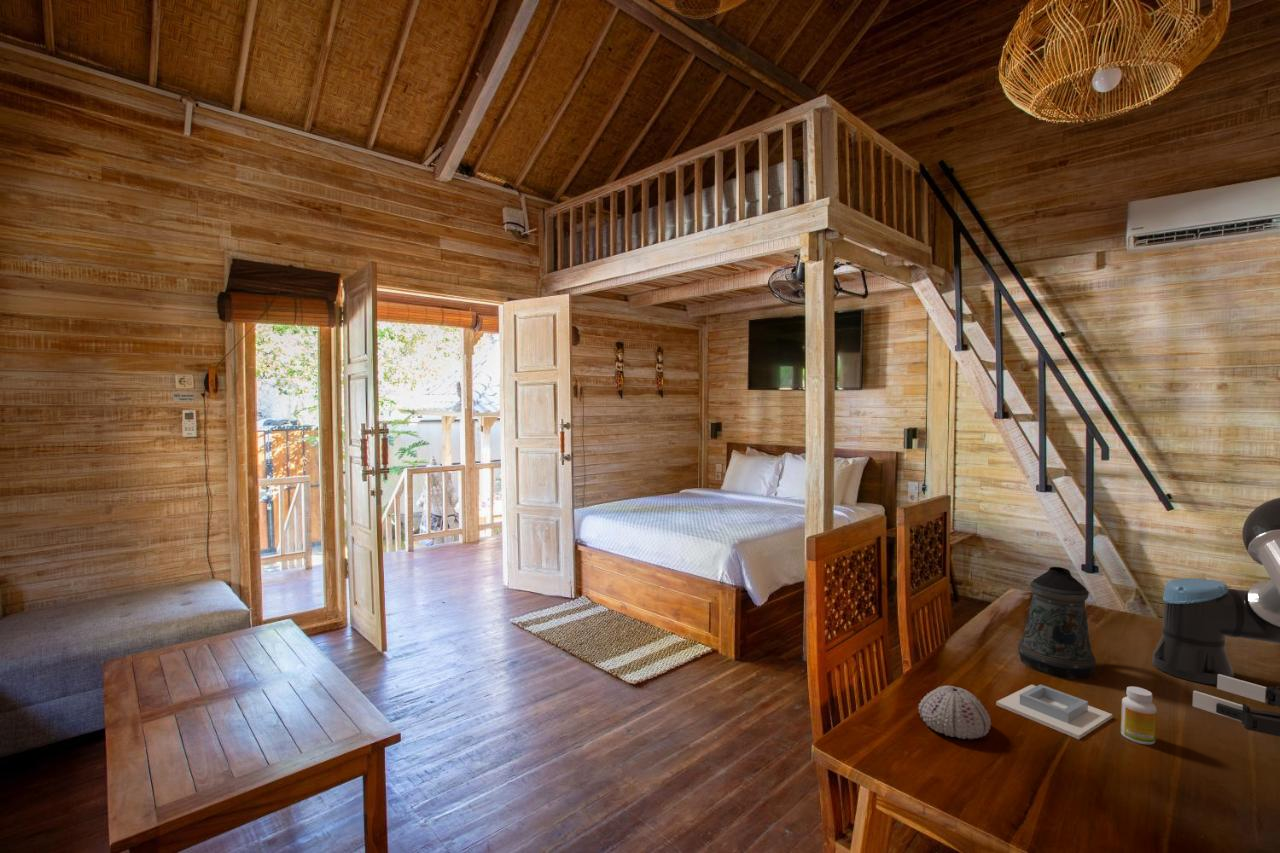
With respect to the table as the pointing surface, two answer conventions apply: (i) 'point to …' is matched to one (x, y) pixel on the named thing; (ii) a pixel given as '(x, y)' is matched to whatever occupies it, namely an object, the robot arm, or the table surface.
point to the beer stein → (1058, 627)
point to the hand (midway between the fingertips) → (1205, 689)
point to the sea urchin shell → (955, 713)
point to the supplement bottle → (1138, 716)
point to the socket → (1055, 710)
